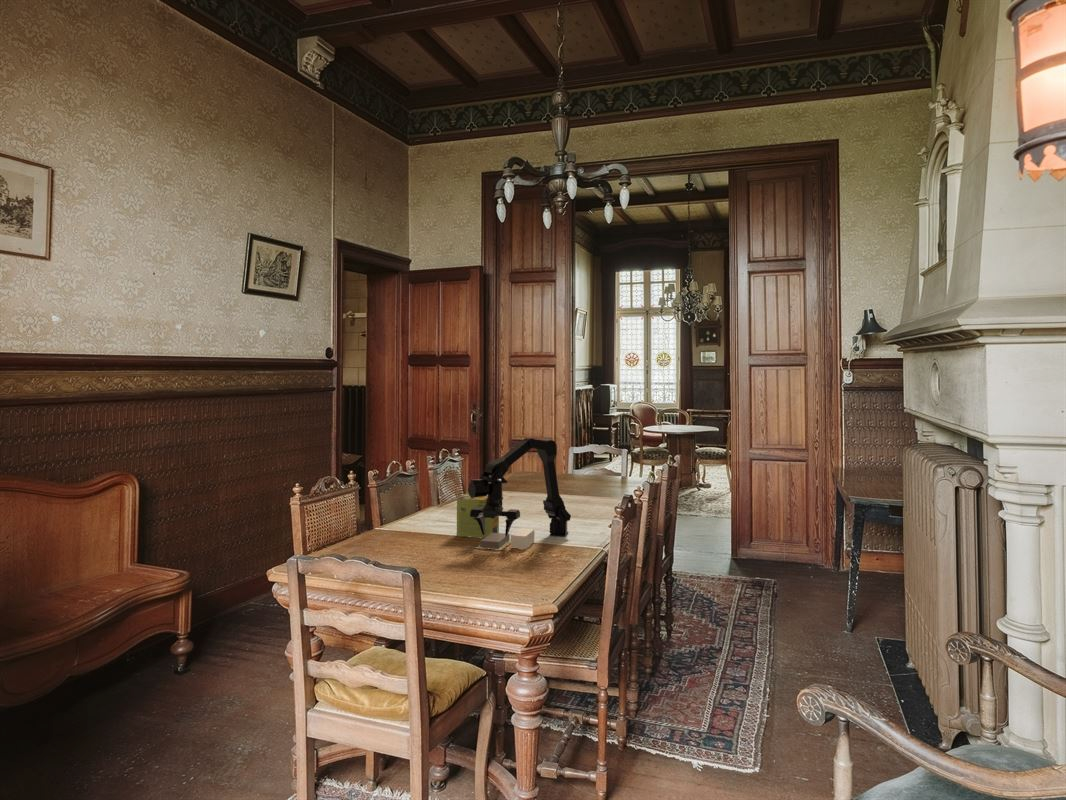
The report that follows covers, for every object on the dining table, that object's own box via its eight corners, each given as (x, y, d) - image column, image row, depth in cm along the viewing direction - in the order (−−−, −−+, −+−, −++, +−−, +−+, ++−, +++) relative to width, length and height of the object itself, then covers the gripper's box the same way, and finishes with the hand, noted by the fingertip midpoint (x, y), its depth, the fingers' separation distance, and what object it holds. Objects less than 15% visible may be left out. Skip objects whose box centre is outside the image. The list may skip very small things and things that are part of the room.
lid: (509, 540, 263) (509, 533, 263) (498, 548, 250) (498, 541, 250) (491, 538, 265) (491, 532, 265) (480, 547, 252) (480, 540, 252)
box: (534, 542, 262) (534, 529, 261) (525, 549, 250) (525, 536, 250) (519, 541, 263) (519, 528, 263) (510, 548, 252) (510, 535, 251)
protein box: (493, 538, 267) (493, 500, 267) (456, 536, 270) (456, 498, 270) (499, 532, 278) (499, 495, 277) (464, 530, 281) (464, 494, 280)
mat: (514, 540, 264) (514, 539, 264) (502, 550, 248) (502, 549, 248) (488, 538, 267) (488, 537, 267) (474, 548, 251) (474, 547, 251)
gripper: (464, 497, 251) (464, 538, 252) (512, 500, 246) (511, 542, 247) (474, 492, 262) (474, 532, 263) (520, 495, 257) (520, 535, 258)
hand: (494, 535), depth 257 cm, fingers open, 9 cm apart
